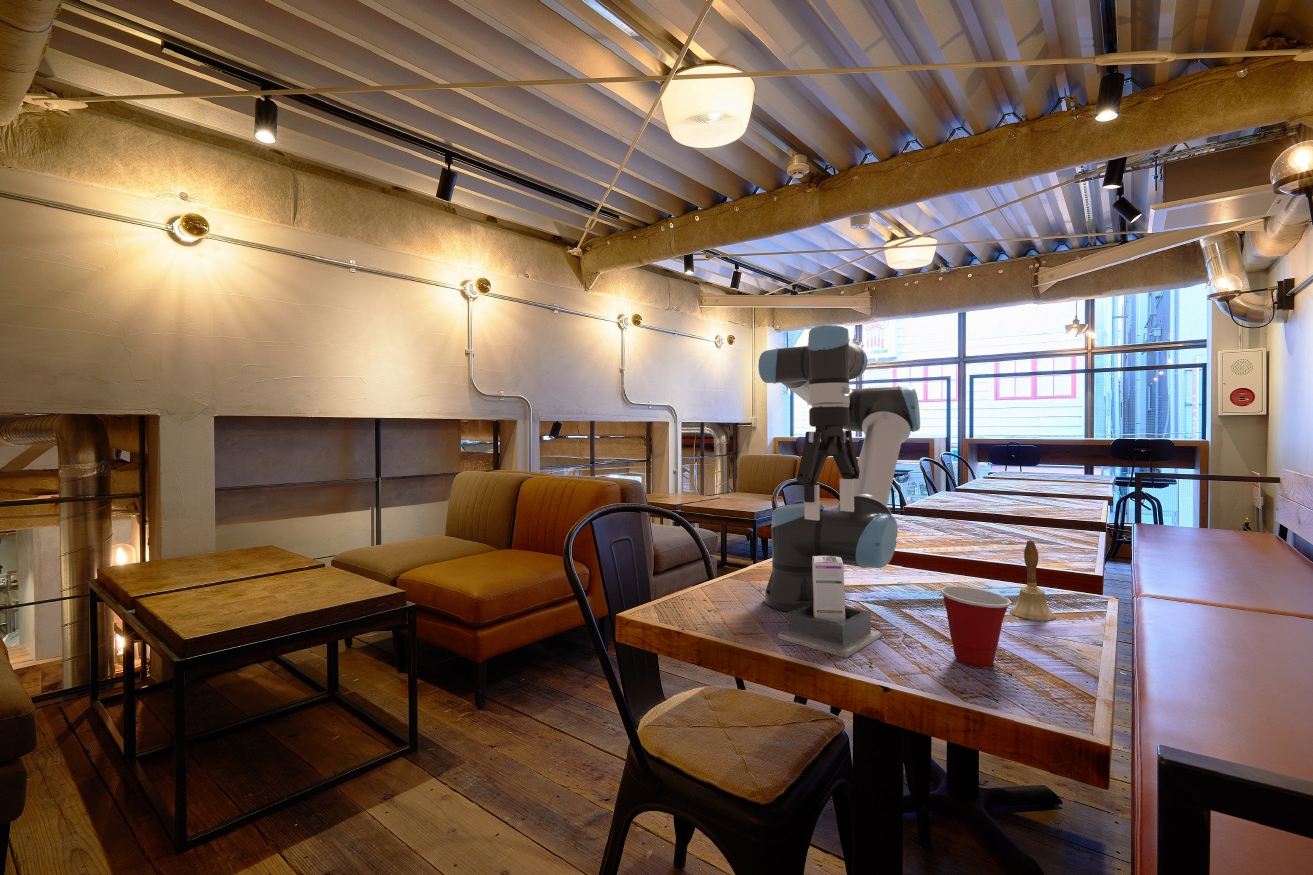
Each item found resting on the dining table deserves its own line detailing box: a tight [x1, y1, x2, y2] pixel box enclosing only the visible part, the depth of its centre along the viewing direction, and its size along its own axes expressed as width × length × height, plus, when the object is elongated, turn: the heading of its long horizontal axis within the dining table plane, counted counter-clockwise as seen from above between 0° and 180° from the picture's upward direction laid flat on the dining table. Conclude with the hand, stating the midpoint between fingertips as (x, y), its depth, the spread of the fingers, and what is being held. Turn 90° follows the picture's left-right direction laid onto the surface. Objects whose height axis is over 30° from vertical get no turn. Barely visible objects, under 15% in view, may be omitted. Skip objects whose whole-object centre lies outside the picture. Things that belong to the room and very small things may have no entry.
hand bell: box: [1009, 540, 1056, 622], centre depth 124 cm, size 8×8×16 cm
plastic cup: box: [940, 585, 1012, 669], centre depth 100 cm, size 11×11×12 cm
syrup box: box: [812, 556, 846, 623], centre depth 112 cm, size 6×6×14 cm
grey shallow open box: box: [778, 602, 881, 659], centre depth 112 cm, size 14×14×5 cm
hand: (830, 515), depth 112 cm, fingers open, 13 cm apart
